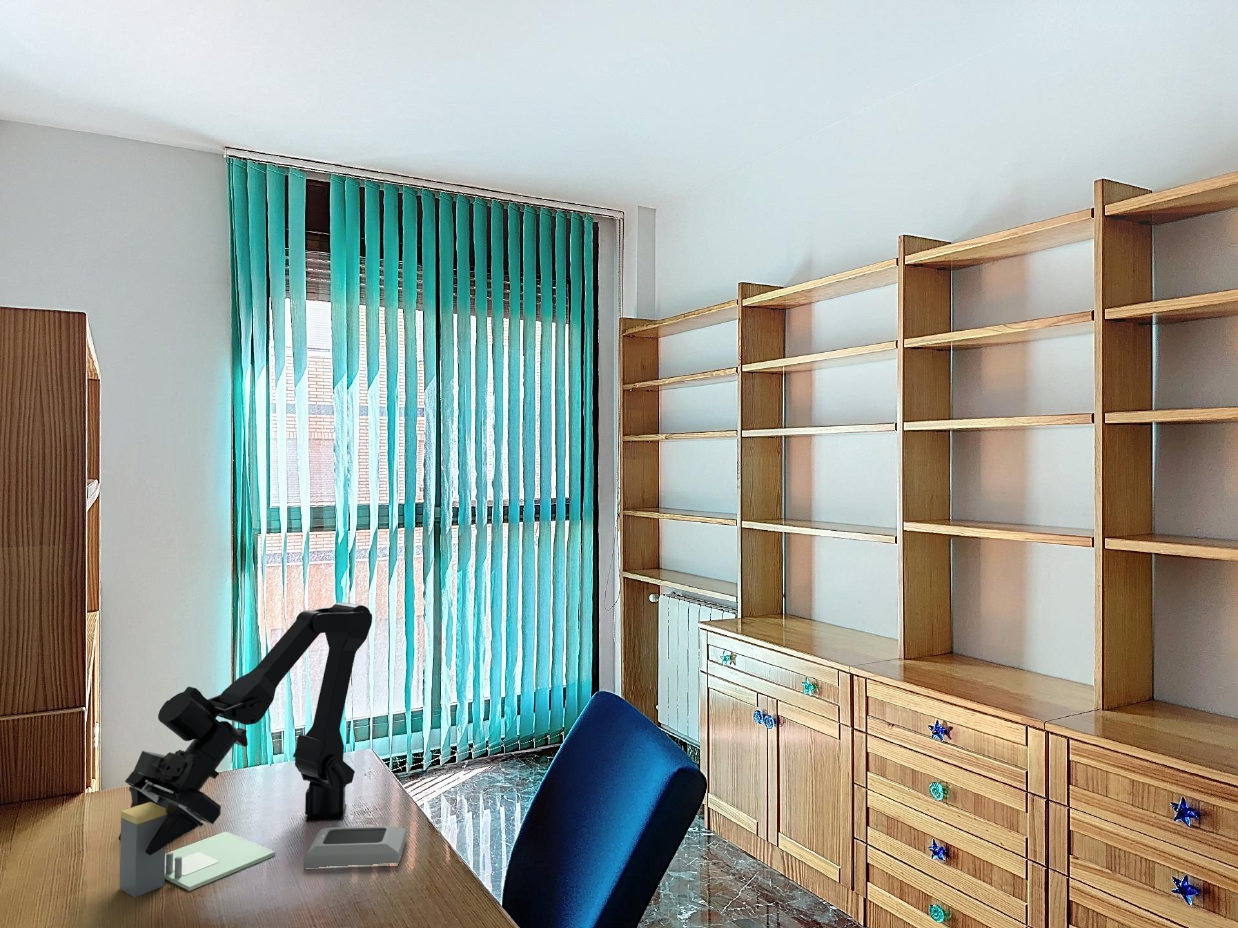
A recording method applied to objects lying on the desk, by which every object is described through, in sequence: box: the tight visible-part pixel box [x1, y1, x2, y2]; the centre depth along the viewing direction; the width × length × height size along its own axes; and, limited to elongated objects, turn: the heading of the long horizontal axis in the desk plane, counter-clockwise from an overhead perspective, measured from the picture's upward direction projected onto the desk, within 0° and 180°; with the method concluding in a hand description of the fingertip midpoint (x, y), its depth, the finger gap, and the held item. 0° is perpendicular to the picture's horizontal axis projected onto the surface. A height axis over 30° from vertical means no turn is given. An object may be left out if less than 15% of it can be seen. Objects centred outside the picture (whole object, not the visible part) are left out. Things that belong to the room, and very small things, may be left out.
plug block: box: [119, 802, 166, 898], centre depth 134 cm, size 4×4×12 cm
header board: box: [165, 831, 276, 891], centre depth 144 cm, size 15×14×4 cm
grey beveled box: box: [303, 825, 407, 870], centre depth 147 cm, size 10×4×15 cm
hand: (133, 847), depth 133 cm, fingers open, 7 cm apart
